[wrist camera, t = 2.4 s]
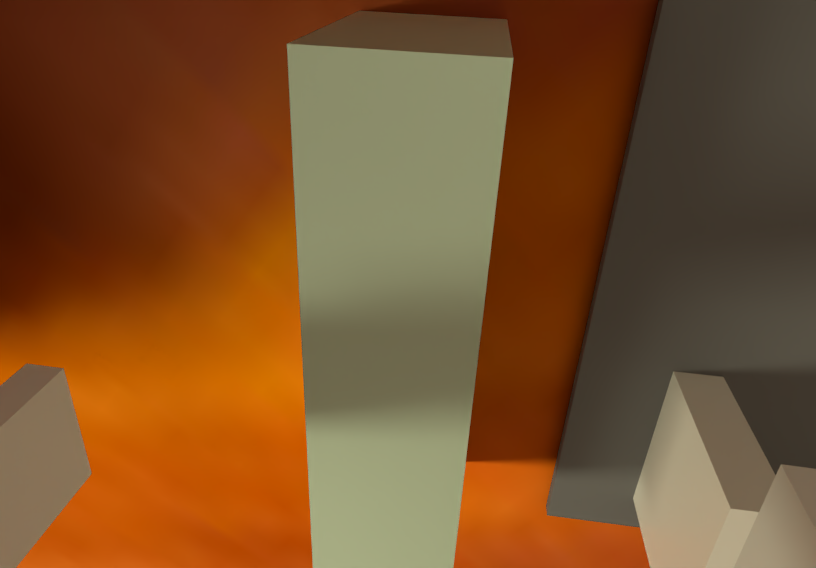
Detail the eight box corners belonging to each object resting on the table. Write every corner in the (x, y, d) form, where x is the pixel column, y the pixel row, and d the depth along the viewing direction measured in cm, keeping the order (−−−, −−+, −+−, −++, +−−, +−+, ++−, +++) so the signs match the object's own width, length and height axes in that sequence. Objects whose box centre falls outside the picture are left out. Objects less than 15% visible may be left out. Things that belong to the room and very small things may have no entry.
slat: (358, 446, 22) (314, 605, 16) (360, 10, 15) (286, 43, 10) (458, 458, 21) (446, 624, 16) (507, 18, 14) (513, 58, 9)
